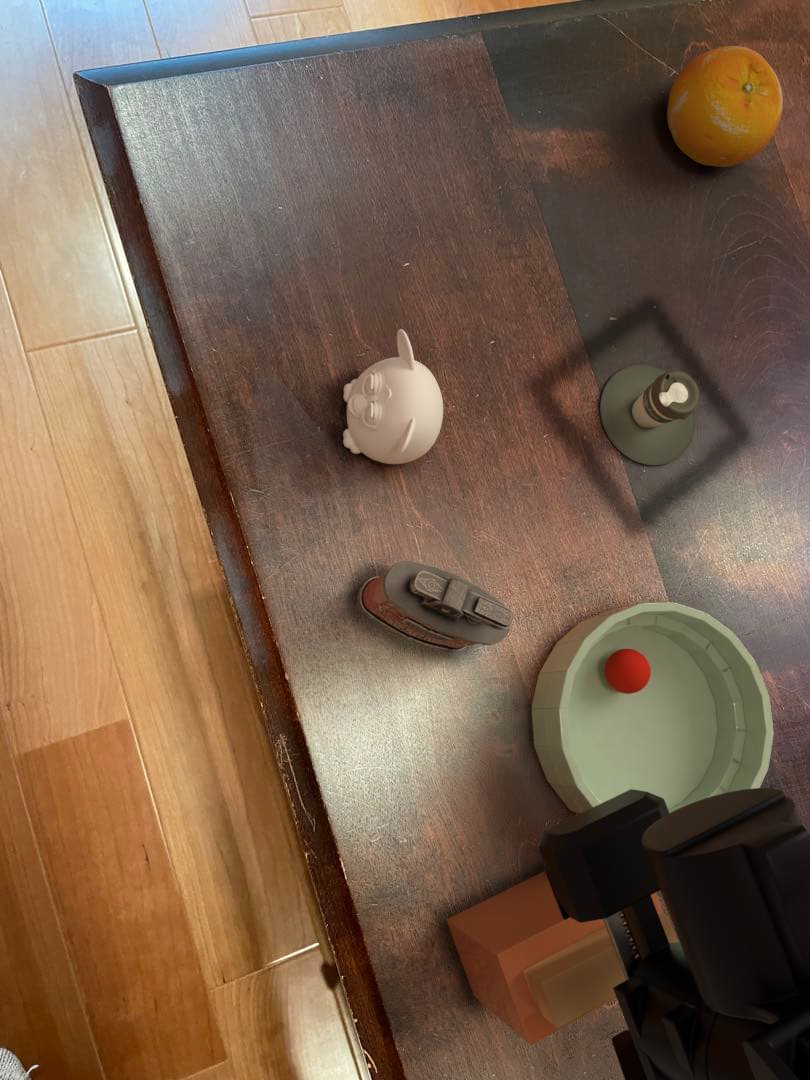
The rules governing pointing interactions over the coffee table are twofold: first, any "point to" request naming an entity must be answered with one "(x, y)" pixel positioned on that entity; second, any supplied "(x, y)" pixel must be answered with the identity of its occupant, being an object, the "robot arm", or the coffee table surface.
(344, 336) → the coffee table surface
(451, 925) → the rectangular block
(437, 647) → the lighter
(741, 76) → the fruit
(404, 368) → the figurine
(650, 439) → the coffee cup
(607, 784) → the bowl
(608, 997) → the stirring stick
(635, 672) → the tomato ball
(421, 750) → the coffee table surface
